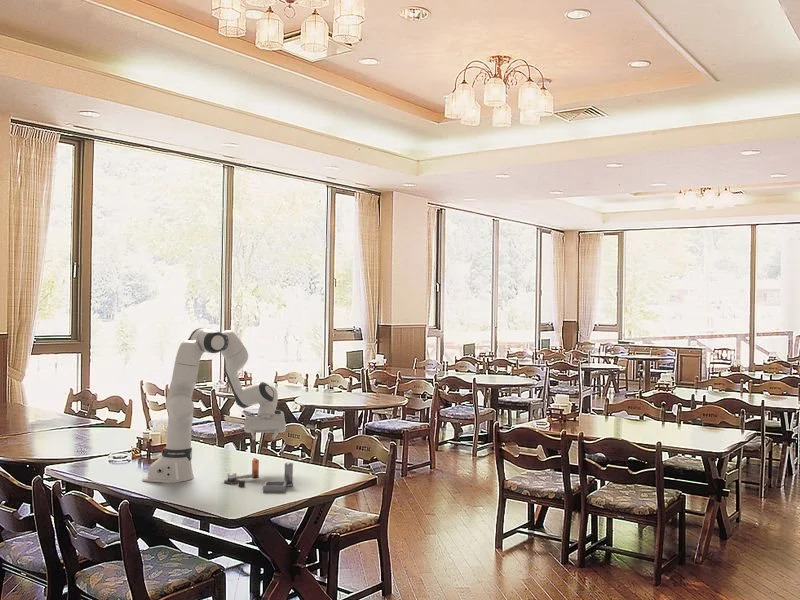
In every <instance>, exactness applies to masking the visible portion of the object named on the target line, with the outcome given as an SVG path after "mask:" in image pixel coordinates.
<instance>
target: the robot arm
mask: <svg viewBox="0 0 800 600" xmlns="http://www.w3.org/2000/svg"><path fill="white" fill-rule="evenodd" d="M204 353H208V354H209V353H210V354H218V353H220V354H221V355H222V356H223V359H224V360H225V364H224V368H223V369H224V373H225V376H226V379H227V381H228V384H229V387H230V388H231V391H232V393H233V396H234V401H235V403H236V405H237V406H238V407H240V408H242V409H247V408H249V407H252V406H254V405H257V404H259V407H258V411H257V415H252V414H250V415H248V416H246V417H245V420H244V422H245V423H244V426H243V429H244V432H245V433H246V434H247V433H248V434H251V436H252V437H251V438H252V439H251V440H253V441H254V440H256V439H257V435H256V433H257V434H260V433H261V434H262V433H265V434H266V433H270V434H271V433H272V434H271V440H276V437H277V436H278V435H279V433H281V434H282V433H285V432H286V429H287V426H286V425H287V424H286V419H285V413H284V411H282V410H278V409H277V407H278V401H279V398H278V397H279V396H278V391H277V389H276V387H274V386H271V385H269V384H268V383H266V382H264V381H261V382H257V383H253V384H251V385H249V386H243V385H242V383H241V381H240V377H239V376H238V372H239V371H240V370H241V369H242V368H243V367H244V366H245V365H246V363H247V362H248V360H249V353H248V350H247V348H246V347H245V344H244V343H243V342H242V341H241V339H240V338H239V337H238V334H236V333H235V332H234V331H233V330H229V329H227V330H223V331H219V330H216V329H215V330H214V329H213V328H206V327H205V328H204V327H199V328H197V329H195V330H193V331H192V332H191V334H190V335H189V338H188V339H187V340H185V341H182V342H181V343H180V345H179V347H178V349H177V352H176V356H175V361H174V364H173V365H174V366H173V371H172V375H171V382H170V385H169V388H168V393H167V396H166V401H165V408H166V411H167V413H168V417H167V427H166V435H165V436H166V437H165V438H166V441H165V442H166V446H164V447H163V448H162V449H161V451H160V452H161V456H160V457H158V459H156V460H155V461H153V462H152V463H151V464H150V465H149V467H148V471H147V474H145V475H143V477H142V482H148V483H149V482H150V483H167V484H175V483H179V482H185V481H191V480H193V479H194V478H195V476H194V473H193V472H194V471H193V465H192V458H193V450H192V449H193V447H192V428H193V419H194V409H195V406H194V401H193V400H192V397H193V394H194V390H195V387H196V385H197V380H198V373H199V368H200V363H201V361H200V360H201V357H202V356H203V354H204Z"/></svg>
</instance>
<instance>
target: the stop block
mask: <svg viewBox="0 0 800 600" xmlns="http://www.w3.org/2000/svg"><path fill="white" fill-rule="evenodd" d="M239 480H240V481H239V483H238V487H240V488H243V487H246V480H244V479H243V480H242V479H239Z"/></svg>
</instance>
